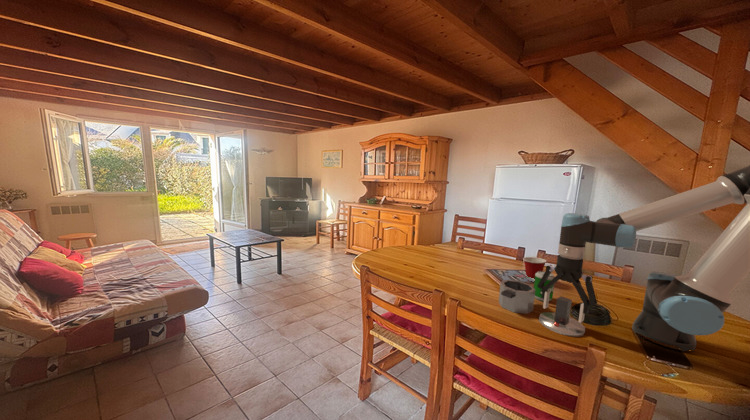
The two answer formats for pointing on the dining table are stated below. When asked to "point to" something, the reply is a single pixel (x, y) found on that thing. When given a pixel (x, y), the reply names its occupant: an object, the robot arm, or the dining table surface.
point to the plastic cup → (533, 265)
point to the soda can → (538, 290)
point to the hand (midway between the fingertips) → (562, 314)
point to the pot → (516, 296)
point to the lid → (562, 319)
